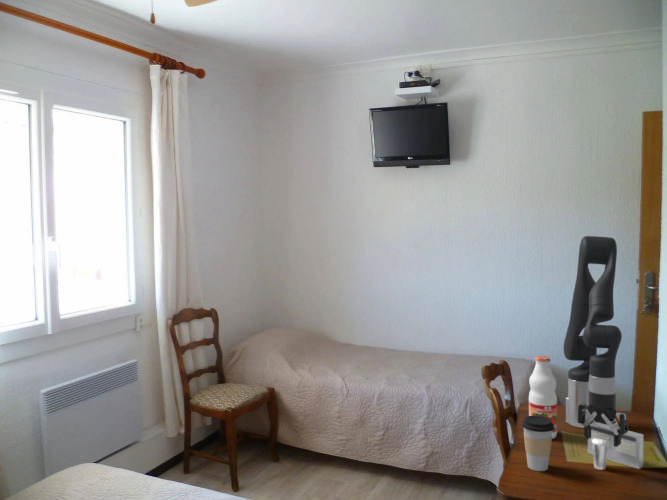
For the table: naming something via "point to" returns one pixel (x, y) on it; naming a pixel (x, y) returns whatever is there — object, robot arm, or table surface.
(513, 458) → the table surface
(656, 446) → the table surface
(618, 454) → the panel
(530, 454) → the coffee cup
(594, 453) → the milkshake
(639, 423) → the table surface
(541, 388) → the fruit juice
